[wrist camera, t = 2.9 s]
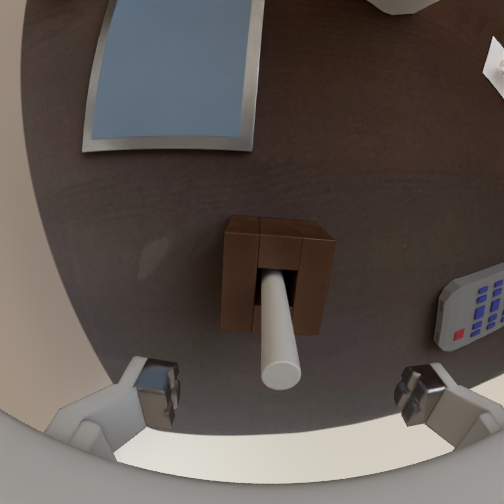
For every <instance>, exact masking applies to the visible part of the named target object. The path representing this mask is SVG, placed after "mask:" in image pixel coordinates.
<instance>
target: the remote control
mask: <svg viewBox="0 0 504 504" xmlns="http://www.w3.org/2000/svg"><path fill="white" fill-rule="evenodd" d="M503 326H504V262H503V263H500V264H497V265H495V266H492V267H489V268H487V269H484V270H481V271H478V272H475V273H472V274H469V275H467V276H464V277H461V278H457V279H454V280H452V281H451V282H450V283H449V284H448V285H446V286H445V287H444V289H443V291H442V293H441V294H440V296H439V300H438V310H437V319H436V326H435V334H434V341H435V343H436V344H437V345H438V346H439V347H440V348H441V349H442V350H443V351H453V350H456V349H458V348H460V347H462V346H465V345H467V344H469V343H471V342H473V341H475V340H477V339H479V338H481V337H483V336H485V335H487V334H489V333H491V332H493V331H495V330H497V329H499V328H501V327H503Z"/></svg>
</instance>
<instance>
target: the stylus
mask: <svg viewBox="0 0 504 504" xmlns="http://www.w3.org/2000/svg"><path fill="white" fill-rule="evenodd" d="M300 377H301V369H300V364H299V358H298V352H297V347H296V341H295V336H294V331H293V325H292V320H291V315H290V309H289V304H288V299H287V294H286V289H285V284H284V279H283V274H282V269H268V268H261V379H262V381H263V383H264V384H265V385H266V386H267V387H269V388H271V389H274V390H285V389H289V388H291V387H293V386H294V385H296V384H297V383H298V381H299V380H300Z"/></svg>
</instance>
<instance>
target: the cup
mask: <svg viewBox="0 0 504 504" xmlns="http://www.w3.org/2000/svg"><path fill="white" fill-rule="evenodd" d="M367 1H369V2H370V3H372V4H373V5H375V6H376V7H377V8H379V9H380V10H381V11H383V12H385V13H388V14H391V15H399V14H414V13H416V12H418V11H419V10H421V9H423V8H425V7H427V6H429V5H431V4H433V3H435V2H437V1H439V0H367Z"/></svg>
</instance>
